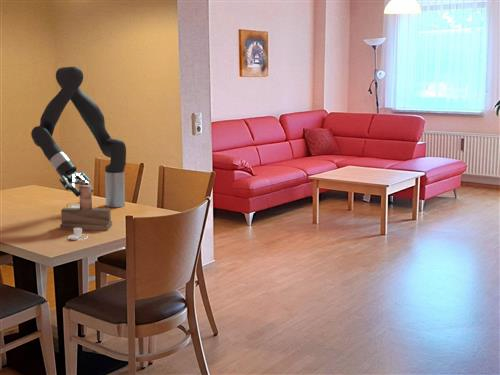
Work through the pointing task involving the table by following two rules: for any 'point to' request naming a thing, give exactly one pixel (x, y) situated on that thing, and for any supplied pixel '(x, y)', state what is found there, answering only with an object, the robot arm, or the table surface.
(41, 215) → the table surface
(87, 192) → the pink domed cylinder
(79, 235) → the teacup and saucer
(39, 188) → the table surface
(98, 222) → the ridge
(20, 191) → the table surface
